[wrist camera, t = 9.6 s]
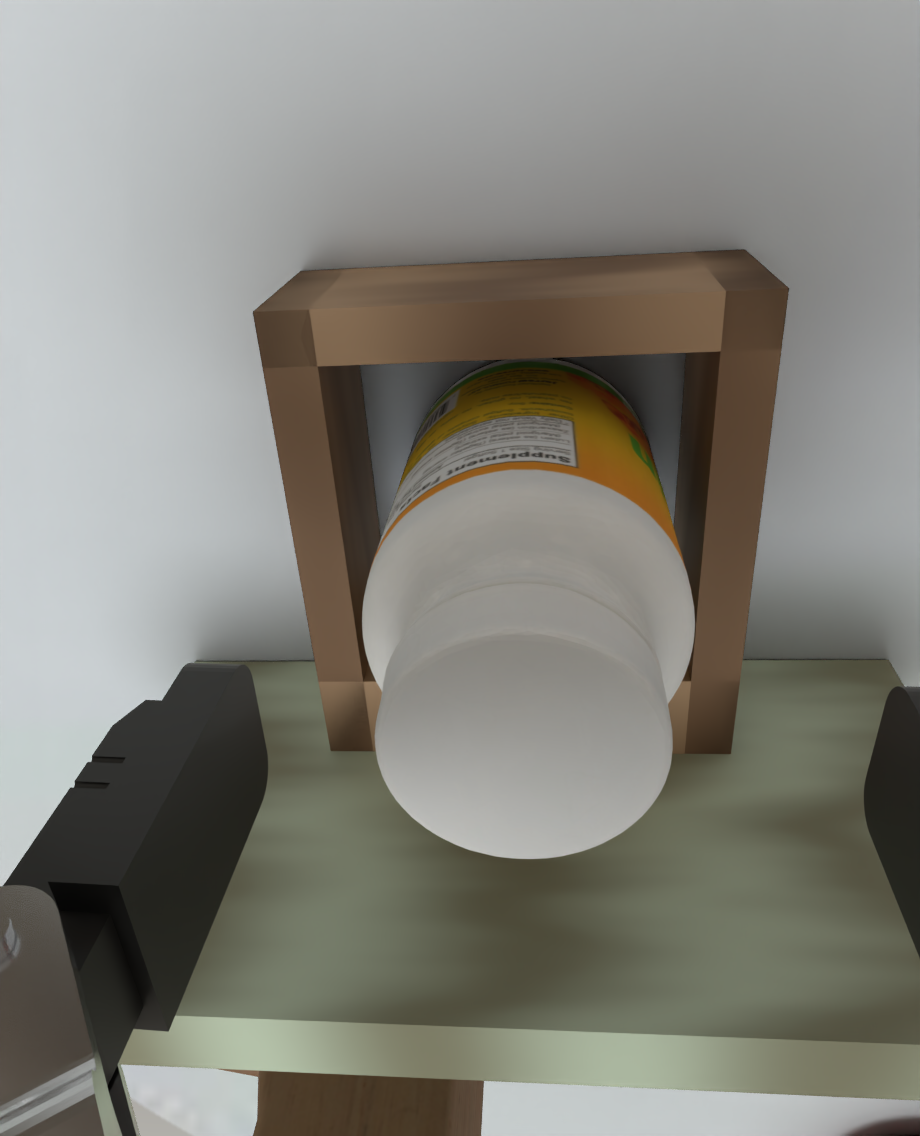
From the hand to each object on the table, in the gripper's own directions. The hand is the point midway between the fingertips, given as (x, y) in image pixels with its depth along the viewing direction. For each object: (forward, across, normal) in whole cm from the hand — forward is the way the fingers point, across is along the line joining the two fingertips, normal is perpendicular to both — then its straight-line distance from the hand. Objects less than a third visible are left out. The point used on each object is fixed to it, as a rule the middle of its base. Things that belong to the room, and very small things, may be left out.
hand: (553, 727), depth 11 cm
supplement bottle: (+10, +1, +1) cm, 10 cm away
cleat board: (+10, +1, +2) cm, 10 cm away
